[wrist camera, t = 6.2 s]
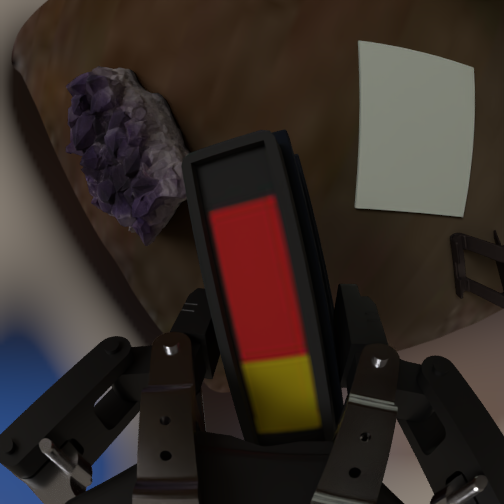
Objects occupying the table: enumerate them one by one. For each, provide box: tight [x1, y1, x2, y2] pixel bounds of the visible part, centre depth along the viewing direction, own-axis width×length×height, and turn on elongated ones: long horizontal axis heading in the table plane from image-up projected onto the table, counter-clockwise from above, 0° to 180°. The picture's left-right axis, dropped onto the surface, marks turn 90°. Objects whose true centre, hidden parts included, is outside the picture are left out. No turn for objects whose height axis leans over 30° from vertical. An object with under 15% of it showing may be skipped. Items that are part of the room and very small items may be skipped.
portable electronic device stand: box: [450, 230, 504, 308], centre depth 27 cm, size 9×8×8 cm
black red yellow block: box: [181, 130, 344, 446], centre depth 16 cm, size 4×13×15 cm, turn 17°
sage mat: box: [355, 41, 475, 217], centre depth 26 cm, size 18×14×1 cm
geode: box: [66, 66, 190, 246], centre depth 27 cm, size 20×12×10 cm, turn 29°
